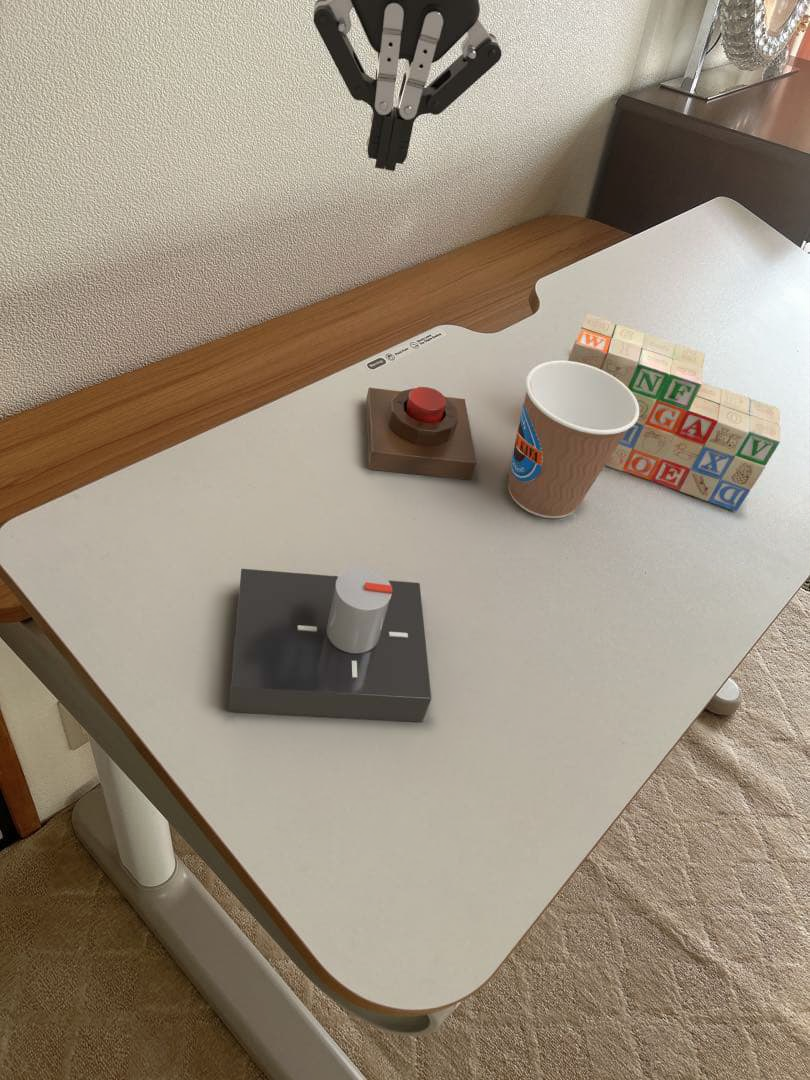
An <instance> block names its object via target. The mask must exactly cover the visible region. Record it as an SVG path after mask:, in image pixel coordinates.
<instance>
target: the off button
mask: <svg viewBox="0 0 810 1080" xmlns="http://www.w3.org/2000/svg"><path fill="white" fill-rule="evenodd" d="M414 388H415V389H413V388H412V389H413V390H412V391H411V392H410V394H409V398H408V402H407V406H406V412H407V414H408V415H409V416H410V417H411V418H413V419H415V420H417V421H419V422H424V423H432V424H433V423H437V422H439V421H440V420H441V419H442V416H443V413H444V409H445V406H446V399H445V397H446V396H445V395H444V394H443V393H442V392H441V391H439V390H437V389H436V388H432V387H428V386H418V387H414Z"/></svg>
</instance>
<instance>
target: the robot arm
mask: <svg viewBox="0 0 810 1080" xmlns="http://www.w3.org/2000/svg"><path fill="white" fill-rule="evenodd" d="M352 9H354V11H355V14H356V17H357V18H358V21H359V23H360V25H361V28H362V29H363V32H364V34H365V36H366V39H367V41H368V43H369V45H370V47H371V48H372V49H373V50H374V52H376V59H375V74H374V78H373V77H372V76H370V75H368V74H367V73H366V71H365V69H364V67H363V65H362V63H361V61H360V59H359V56H358V55H357V53H356V51H355V49H354V47H353V45H352V43H351V41H350V39H349V37H348V35H347V34H349V32H350V31H351V29H352V19H351V15H350V13H351V10H352ZM480 12H481V5H480V1H479V0H316V1H315V3H314V6H313V14H312V15H313V23H314V27H316V30H317V32H318V34H319V36H320V37H321V39H322V42H323V43H324V45H325V48H326V49H327V51H328V53H329V55H330V57H331V59H332V61H333V63H334V64H335V67H336V68H337V71H338V72H339V74H340V76H341V78H342V80H343V82H344V84H345V86H346V88H347V90H348V91H349V94H350V96H351V97H352V98H353V99H354V100H356V101H362V102H364V103H366V104H367V105H369V106H370V108H371V115H370V120H369V127H368V133H367V138H366V151H367V156H368V159H372V160H373V169H374V168H375V169H379V170H386V171H390V172H395V171H396V166H397V164H400V165H403V164H404V162H405V161H406V159H407V157H408V153H409V149H410V148H409V147H410V142H411V137H412V132H413V127H414V123H415V121H416V120H417V118H418V117H420V116H422V115H427V114H428V115H429V114H431V115H434V116H436V115H440V114H442V112H444V111H445V110H446V109H447V108H448V107H449V106H450V105H452V104H453V103H454V102H455V101H456V100H458V98H459V97H461V96H462V95H463V94H464V93H465V92H466V91H467V90H468V89H470V88H471V87H472V86H473V85H474V84H475V83H476V82H477V81H478V80H479V79H481V78H482V77H483V76H484V75H485V74H486V73H487V72H488V71H489V70H491V69H492V68H493V67H494V66H495V65H496V64H497V63H499V61H500V60H501V58H502V49H501V47H500V45H499V42H498V40H497V38H496V36H495V35H494V34H493V33H491V32H490V33H489V32H488V30H487V29H486V28H485V26H484V24H483V23H482V22H481V20H480V18H479V17H480ZM465 35H466V37H465V39H464V40H463V41H462V42H461V45H460V51H461V55H459V57H457V58H456V59H455V60H454V61H453V62H452V63H451V64H450V65H449V66H448V67H446V68H445V69H444V70H443V71H442V72H441V73H439V75H437V77H436V78H434V79H433V80H432V81H431V82H430V83H429V84H428V85H427V81H428V78H429V74H430V71H431V67H432V64H433V63H436V62H438V61H440V60H441V59H442V58H443V57H444V56H445V55H446V54H447V53H448V52H449V51H450V50H451V49H452V48H453V47H454V46H455V45H456V44H457V43H458V42H459V41H460V40H461V39H462V38H463V37H464V36H465ZM399 60H405V62H404V68H403V72H402V73H403V74H402V77H401V82H400V85H399V89H398V93H397V96H396V97H397V98H396V99H397V102H396V106H394V97H395V87H396V80H397V77H398V75H397V74H398V67H399ZM426 85H427V86H426Z"/></svg>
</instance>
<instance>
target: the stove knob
mask: <svg viewBox="0 0 810 1080" xmlns="http://www.w3.org/2000/svg"><path fill="white" fill-rule="evenodd" d="M337 576H338V578H337V580H336V584H335V589H334V594H333V598H332V603H331V608H330V613H329V617H328V622H327V627H326V632H327V636H328V638H329V640H330V641H331V643H332V644H333V645H334V646H336V647H337V648H338V649H340V650H342V651H345V652H348V653H364V652H367V651H369V650H371V649H372V648H374V647H375V646H376V644H377V643H378V641H379V638H380V634H381V631H382V627H383V624H384V620H385V616H386V613H387V609H388V606H389V602H390V599H391V595H392V586H391V585H390V583H389V581H388V580H389V579H388V578H387V577H386V576H385V575H384V574H382V573H381V572H380V571H378V570H376V569H373V568H371V567H366V566H354V567H349V568H347V569H345V570H344V571H342V572H340V574H339V575H337Z"/></svg>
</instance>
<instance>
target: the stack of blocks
mask: <svg viewBox="0 0 810 1080" xmlns="http://www.w3.org/2000/svg"><path fill="white" fill-rule="evenodd" d="M704 360H705V352H703V351H700V350H697V349H694V348H690V347H687V346H685V345H681V344H679V343H675V342H672V341H670V340H668V339H664V338H661V337H657V336H654V335H651V334H646V333H644V332H642V331H639V330H636V329H633V328H630V327H627V326H623V325H622V324H616V323H615V322H613V321H611V320H607V319H605V318H601V317H598V316H597V315H596V316H595V315H593V314H590V313H586V315H585V317H584V320H583V323H582V325H581V327H580V331H579V333H578V336H577V339H575V341H574V344H573V346H572V349H571V351H570V354H569V356H568V360H567V361H573V362H579V363H583V364H587V365H590V366H593V367H596V368H598V369H600V370H603V371H605V372H607V373H608V374H610V375H612V376H614V377H615V378H617V379H618V380H619V381H621V382H622V383H623V384H624V385H625V386H626V387H628V389H629V390H630V391H631V392H632V393H633V395H634V396H635V398H636V400H637V402H638V405H639V417H638V420H637V421H636V423H635V424H634V425H633V426H632V427H631V428H629V429H628V430H627V432H626V433H625V435H624V437H623V438H622V440H621V441H620V443H619V444H618V446H617V447H616V449H615V451H614V452H613V454H612V455H611V457H610V458H609V460H608V461H607V463H606V464H605V466H606V467H609V468H612V469H615V470H617V471H621V472H625V473H627V474H631V475H634V476H635V477H639V478H643V479H645V480H648V481H652V482H654V483H657V484H659V485H662V486H665V487H668V488H671V489H673V490H677V491H679V492H682V493H684V494H686V495H689V496H693V497H695V498H698V499H700V500H703V501H706V502H709V503H711V504H715V505H717V506H720V507H721V508H722V507H723V508H725V509H728V510H731V511H734V512H737V511H738V510H739V509H740V507H741V506H742V504H743V503H744V501H745V500H746V498H747V496H748V495H749V493H750V492H751V490H752V489H753V488H754V486H755V485H756V483H757V481H758V479H759V478H760V476H761V475H762V473H763V471H764V470H765V468H766V465H767V464H768V462H769V461H770V460H771V458H772V456H773V454H774V453H775V451H776V450H777V448H778V446H779V444H780V443H781V409H780V407H777V406H773V405H771V404H768V403H766V402H765V403H764V402H762V401H760V400H759V401H758V400H756V399H751V398H750V397H748V396H746V395H742V394H740V393H737V392H734V391H731V390H728V389H726V388H725V389H724V388H721V387H719V386H716V385H713V384H710V383H707V382H705V381H703V374H704ZM633 417H634V416H633Z"/></svg>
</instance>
